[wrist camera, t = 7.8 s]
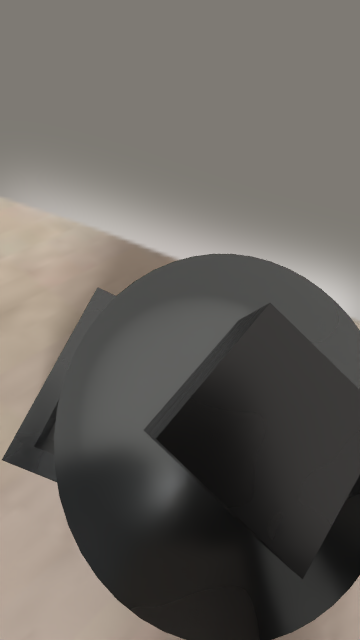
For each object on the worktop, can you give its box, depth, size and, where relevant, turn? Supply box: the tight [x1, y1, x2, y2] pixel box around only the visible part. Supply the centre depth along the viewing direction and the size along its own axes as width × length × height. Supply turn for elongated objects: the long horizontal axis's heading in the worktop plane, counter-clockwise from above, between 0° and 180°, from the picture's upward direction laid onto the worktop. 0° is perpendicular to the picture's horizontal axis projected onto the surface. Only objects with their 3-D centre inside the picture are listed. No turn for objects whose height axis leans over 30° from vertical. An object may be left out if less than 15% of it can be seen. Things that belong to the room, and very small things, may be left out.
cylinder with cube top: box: [54, 254, 360, 640], centre depth 10 cm, size 4×4×14 cm
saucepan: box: [2, 288, 116, 482], centre depth 16 cm, size 8×18×4 cm, turn 67°
